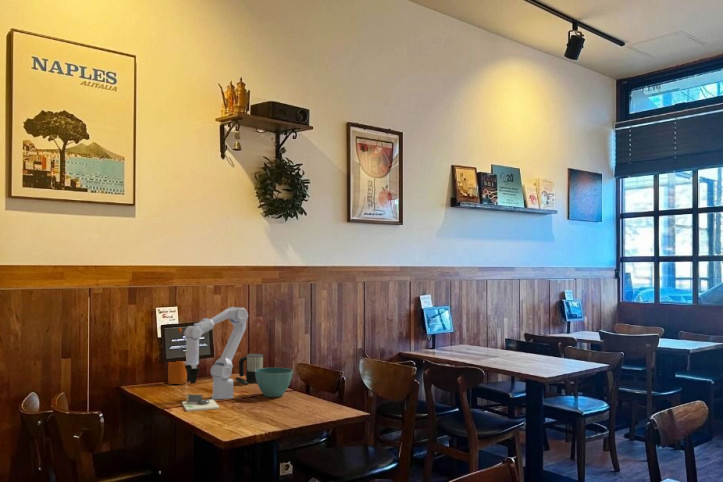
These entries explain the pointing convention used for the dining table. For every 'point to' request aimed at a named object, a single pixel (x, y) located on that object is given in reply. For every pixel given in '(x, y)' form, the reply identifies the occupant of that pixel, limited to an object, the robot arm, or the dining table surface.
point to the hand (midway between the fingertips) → (191, 382)
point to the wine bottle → (177, 371)
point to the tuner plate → (200, 406)
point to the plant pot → (273, 380)
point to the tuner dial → (196, 399)
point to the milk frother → (250, 368)
